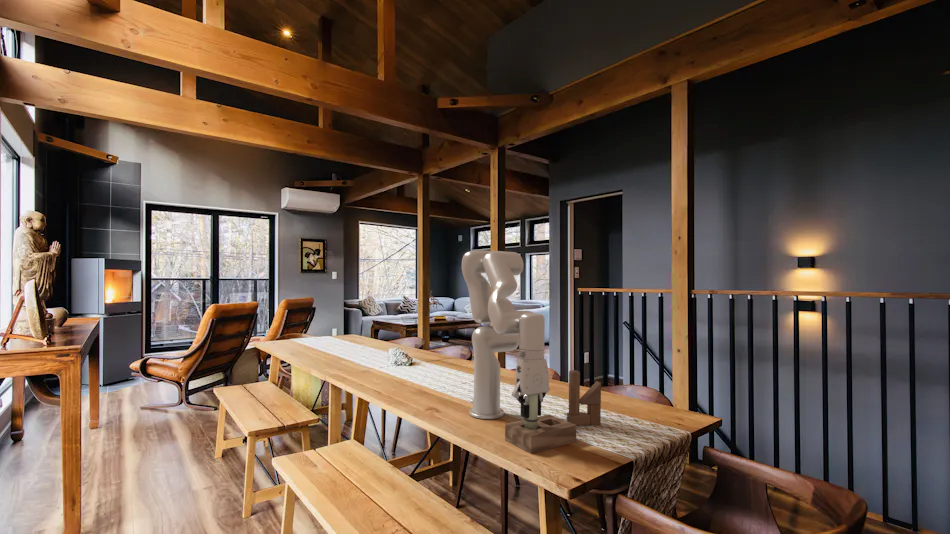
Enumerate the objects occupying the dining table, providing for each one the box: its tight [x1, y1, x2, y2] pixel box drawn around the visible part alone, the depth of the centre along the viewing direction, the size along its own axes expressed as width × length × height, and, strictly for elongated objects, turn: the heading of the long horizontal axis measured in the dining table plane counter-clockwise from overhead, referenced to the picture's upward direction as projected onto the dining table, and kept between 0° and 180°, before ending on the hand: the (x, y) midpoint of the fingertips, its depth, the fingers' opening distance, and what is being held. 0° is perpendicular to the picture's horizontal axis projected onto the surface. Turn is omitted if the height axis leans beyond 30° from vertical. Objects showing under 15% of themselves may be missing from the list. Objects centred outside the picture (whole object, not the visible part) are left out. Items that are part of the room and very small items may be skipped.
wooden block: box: [566, 369, 602, 427], centre depth 153 cm, size 4×11×18 cm, turn 98°
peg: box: [523, 394, 539, 431], centre depth 134 cm, size 4×4×14 cm
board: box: [504, 414, 577, 455], centre depth 136 cm, size 12×18×5 cm, turn 124°
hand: (530, 415), depth 134 cm, fingers closed on peg, 4 cm apart
